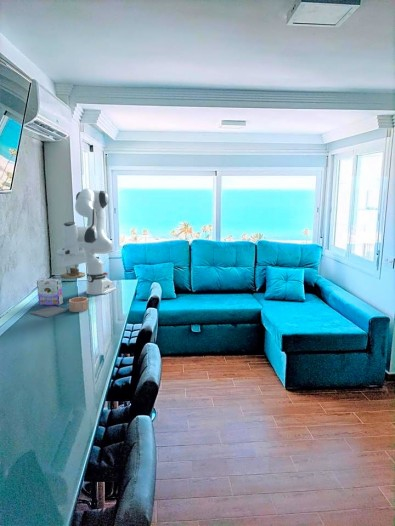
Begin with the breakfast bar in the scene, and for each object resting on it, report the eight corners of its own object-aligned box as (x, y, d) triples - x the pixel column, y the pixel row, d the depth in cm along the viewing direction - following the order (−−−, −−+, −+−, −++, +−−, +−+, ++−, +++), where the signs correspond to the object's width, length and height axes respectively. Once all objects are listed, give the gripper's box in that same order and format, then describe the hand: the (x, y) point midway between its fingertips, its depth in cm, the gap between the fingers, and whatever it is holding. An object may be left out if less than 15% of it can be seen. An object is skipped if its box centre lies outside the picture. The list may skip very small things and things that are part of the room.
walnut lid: (73, 272, 231) (73, 265, 230) (90, 275, 224) (89, 267, 223) (55, 277, 219) (55, 269, 218) (72, 279, 212) (71, 272, 211)
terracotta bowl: (79, 305, 234) (79, 296, 233) (92, 308, 228) (91, 298, 227) (65, 310, 224) (65, 300, 223) (78, 313, 219) (78, 303, 218)
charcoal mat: (51, 306, 231) (51, 305, 230) (68, 310, 223) (68, 309, 223) (30, 313, 218) (30, 312, 218) (47, 317, 211) (47, 316, 210)
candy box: (63, 303, 238) (61, 278, 235) (59, 305, 232) (57, 280, 229) (43, 302, 239) (41, 277, 236) (38, 305, 234) (36, 280, 230)
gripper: (80, 247, 229) (81, 268, 231) (53, 251, 211) (55, 275, 214) (88, 247, 226) (89, 269, 228) (61, 252, 208) (63, 276, 211)
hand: (72, 272), depth 221 cm, fingers closed on walnut lid, 3 cm apart
